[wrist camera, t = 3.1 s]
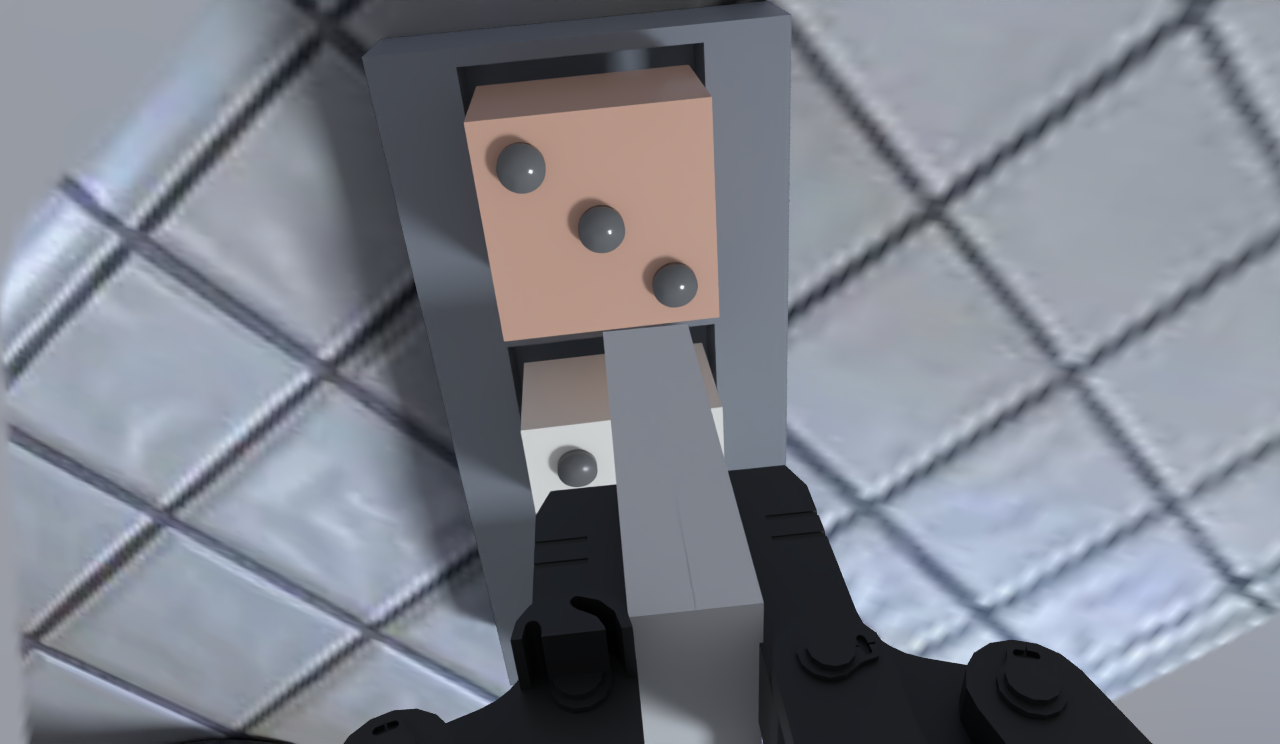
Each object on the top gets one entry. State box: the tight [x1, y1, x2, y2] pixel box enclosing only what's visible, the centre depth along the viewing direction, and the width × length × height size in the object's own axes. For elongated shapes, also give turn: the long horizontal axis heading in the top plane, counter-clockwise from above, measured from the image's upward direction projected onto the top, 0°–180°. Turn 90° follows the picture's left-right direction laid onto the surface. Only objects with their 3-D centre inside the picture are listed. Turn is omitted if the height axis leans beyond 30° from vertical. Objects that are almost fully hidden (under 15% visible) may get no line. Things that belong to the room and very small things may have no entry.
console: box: [362, 1, 791, 685], centre depth 31 cm, size 12×26×3 cm, turn 5°
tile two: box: [521, 343, 724, 514], centre depth 28 cm, size 6×6×4 cm
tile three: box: [464, 65, 720, 341], centre depth 23 cm, size 6×6×4 cm
